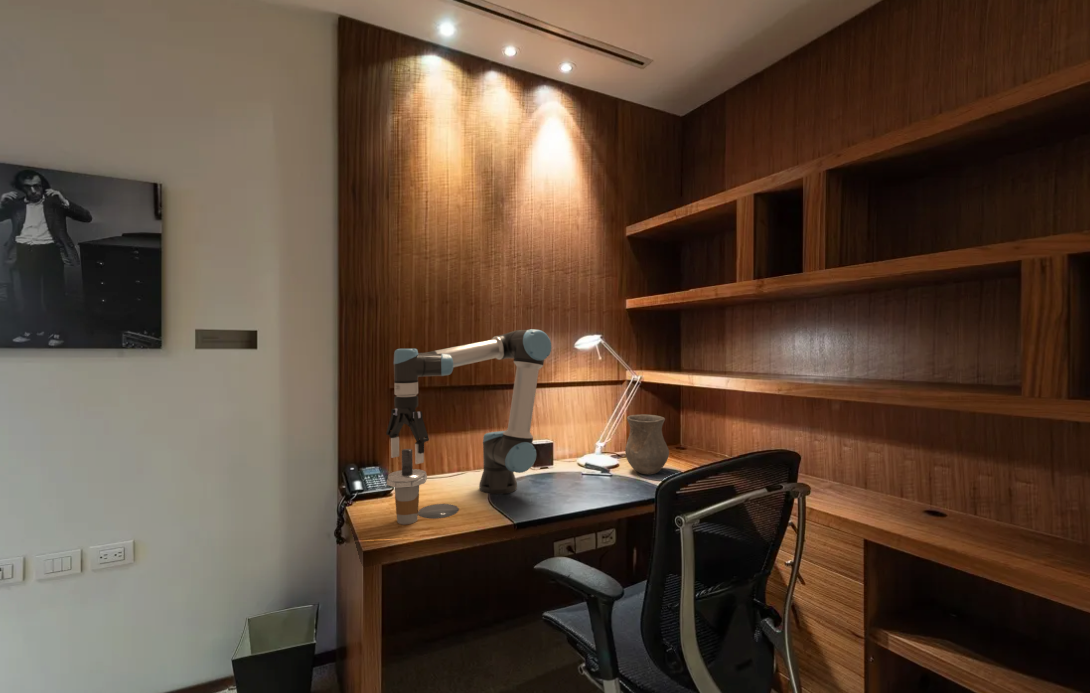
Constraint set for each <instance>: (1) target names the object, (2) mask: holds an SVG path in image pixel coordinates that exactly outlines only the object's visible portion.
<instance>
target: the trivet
mask: <svg viewBox="0 0 1090 693" xmlns="http://www.w3.org/2000/svg"><path fill="white" fill-rule="evenodd" d="M459 511H460V508H459V507H458V506H457V505H454V504H452V503H451V504H450V503H436V504H431V505H430V504H429V505H427V506H423V507H422V508H419V509H418V517H421V518H424V519H433V520H436V519H437V520H438V519H443V518H449V517H452V516H453V515H456V514H457V513H458V512H459Z"/></svg>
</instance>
